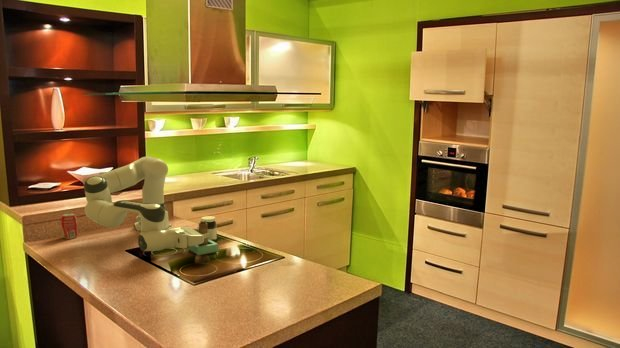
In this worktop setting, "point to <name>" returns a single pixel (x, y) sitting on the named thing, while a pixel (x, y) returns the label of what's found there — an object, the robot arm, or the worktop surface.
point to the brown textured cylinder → (203, 231)
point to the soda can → (69, 226)
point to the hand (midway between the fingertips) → (205, 232)
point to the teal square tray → (205, 248)
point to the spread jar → (211, 227)
